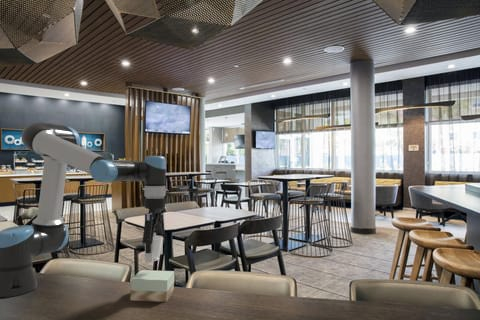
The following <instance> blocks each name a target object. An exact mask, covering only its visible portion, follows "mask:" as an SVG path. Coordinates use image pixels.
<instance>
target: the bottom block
mask: <svg viewBox="0 0 480 320" xmlns="http://www.w3.org/2000/svg"><path fill="white" fill-rule="evenodd" d="M174 290H175V282H174V283H173V284H172V286H171V287H170V289H169V290H168V291H167V292H163V291H134V290H131V289H130V293H129V294H130V297H129V299H130V300H129V301H136V302H137V301H138V302H141V301H142V302H165V303H167V302H168V300H169V299H170V297H171V296H172V294H173V293H174V292H175V291H174Z"/></svg>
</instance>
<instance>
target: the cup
mask: <svg viewBox="0 0 480 320" xmlns="http://www.w3.org/2000/svg"><path fill="white" fill-rule="evenodd" d="M163 238H164V237H162V236H156V235H154V236H153V241H152V243H153V262H156V261H159V260H160V258H159V257H160V255H161V254H160V252H161V246H162V240H164V239H163ZM147 240H148V239H147Z"/></svg>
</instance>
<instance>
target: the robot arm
mask: <svg viewBox="0 0 480 320" xmlns="http://www.w3.org/2000/svg"><path fill="white" fill-rule="evenodd" d="M21 142H22V144H23V146H24V147H25V148H26V149H28V150H30V151H32V152H33V153H35V154H37V155H40V158H42V159H43V168H42V176H41V185H40V194H39V201H38V209H37V215H36V218H34V219H33V220H32V223H31V225H27V224H25V225H24V224H23V225H15V226H12V227H8V228H7V227H6V228H4V229H2V230H0V298H10V297H16V296H21V295H23V294H24V295H25V294H27V293H30V292H32V291H35V289H36V288H37V287H38V280H37V278H36V274H35V271H34V268H33V258H36V257H40V256H44V255H47V254H52V253H55V252H56V251H59V250H61V249H63V248H64V247H65V246H66V244H67V243H68V241H69V237H70V232H69V229H68V227H67V226H66V224H65V220H64V219H63V218H62V210H63V204H64V203H63V201H64V195H65V185H66V179H67V171H68V166H70V167H73V168H75V169H78V170H80V171H82V172H84V173H86V174H89V175H90V176H91V178H92V179H93V180H94V181H95V182H97V183H105V184H107V183H116V182H118V183H119V182H144V197H145V198H144V200H143V201H144V209H148V213H146V214H144V224H143V225H144V226H143V228H144V229H143V232H142V233H143V234H142V236H143V237H142V244H144V262H145V263H153V262H154V261H153V243H152V241H153V236H162V237H163V238H164V237H166V233H165V232H166V231H165V219H164V217H165V216H164V213H165V210H164V209H165V208H166V198H165V197H166V192H167V190H168V189H167V187H166V176H167V175H166V172H167V171H166V170H167V165H166V164H167V161H166V157H165V156H163V155H146V156H145V159H144V161H142V160H141V161H137V160H136V161H135V160H113V159H110V158H108V157H106V156H103V155H101V154H98V153H96V152H94V151H91V150H90V149H87V148H85V147H83V146H81V138H80V135H79V133H78V131H77V130H76V129H74V128H73V127H70V126H66V125H63V124H62V125H61V124H53V123H47V122H40V121H39V122H33V123H30V124H29V125H27V126H25V128H24V129H23V131H22V133H21ZM147 239H148V240H147ZM163 240H164V239H163ZM163 240H162V246H161V252H160V255H163V245H164V244H163V242H164V241H163Z"/></svg>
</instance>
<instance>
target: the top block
mask: <svg viewBox="0 0 480 320" xmlns="http://www.w3.org/2000/svg"><path fill="white" fill-rule="evenodd" d="M175 273H176V272H175V270H149V269H147V270H146V269H141V270H140V271H139V272H137V273H136V274H135V275H134V276H133V277H132V278H131V280H130V291H131V290H134V291H163V292H167V291H168V290H169V289H170V287H171V286H172V284H173V283H174V284H175Z"/></svg>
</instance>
